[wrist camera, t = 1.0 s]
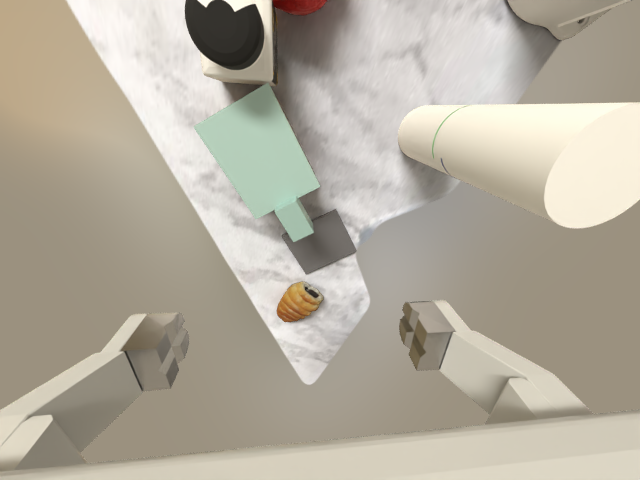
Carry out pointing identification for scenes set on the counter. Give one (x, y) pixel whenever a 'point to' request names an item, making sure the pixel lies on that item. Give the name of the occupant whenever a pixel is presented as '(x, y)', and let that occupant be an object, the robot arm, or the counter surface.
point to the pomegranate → (299, 6)
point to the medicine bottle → (235, 39)
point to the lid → (262, 158)
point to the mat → (321, 243)
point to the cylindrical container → (536, 154)
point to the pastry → (298, 302)
